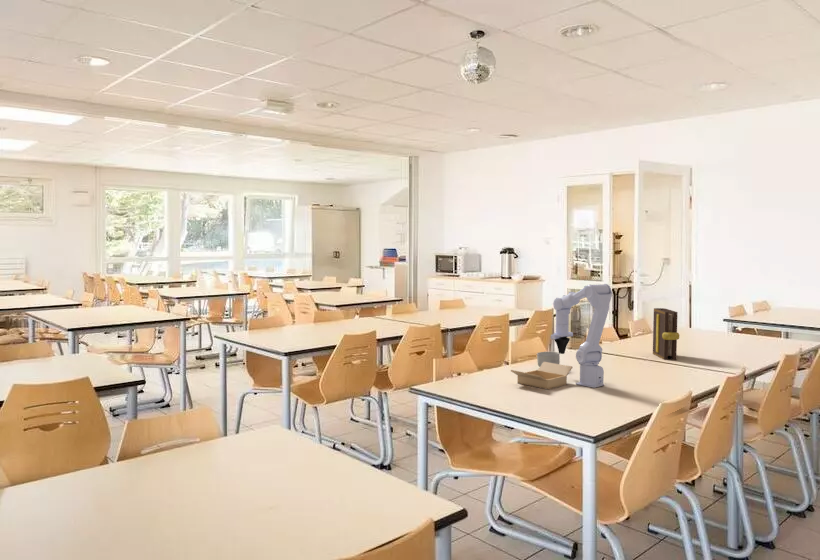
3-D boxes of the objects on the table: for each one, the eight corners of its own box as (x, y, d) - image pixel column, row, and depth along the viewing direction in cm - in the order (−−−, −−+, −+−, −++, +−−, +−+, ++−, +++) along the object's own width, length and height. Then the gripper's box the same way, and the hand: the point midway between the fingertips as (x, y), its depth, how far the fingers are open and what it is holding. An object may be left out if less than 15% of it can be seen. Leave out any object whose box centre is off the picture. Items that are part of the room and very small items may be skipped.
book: (649, 353, 348) (650, 308, 347) (665, 353, 348) (666, 308, 346) (664, 360, 326) (665, 312, 325) (680, 360, 326) (681, 312, 324)
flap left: (517, 374, 273) (517, 375, 273) (510, 369, 270) (510, 370, 270) (546, 380, 262) (546, 381, 262) (539, 375, 259) (539, 376, 259)
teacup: (553, 372, 297) (553, 355, 297) (532, 369, 304) (532, 353, 303) (565, 367, 308) (566, 351, 308) (545, 365, 315) (545, 349, 314)
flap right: (566, 375, 271) (566, 376, 271) (572, 366, 274) (572, 367, 274) (537, 370, 283) (537, 370, 283) (543, 361, 285) (544, 362, 286)
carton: (566, 384, 271) (566, 375, 271) (547, 389, 262) (547, 380, 262) (536, 378, 283) (536, 369, 283) (517, 383, 274) (517, 374, 274)
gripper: (564, 321, 295) (563, 350, 296) (545, 324, 285) (544, 354, 286) (577, 323, 290) (576, 352, 291) (558, 326, 280) (557, 356, 281)
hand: (561, 353), depth 288 cm, fingers closed
